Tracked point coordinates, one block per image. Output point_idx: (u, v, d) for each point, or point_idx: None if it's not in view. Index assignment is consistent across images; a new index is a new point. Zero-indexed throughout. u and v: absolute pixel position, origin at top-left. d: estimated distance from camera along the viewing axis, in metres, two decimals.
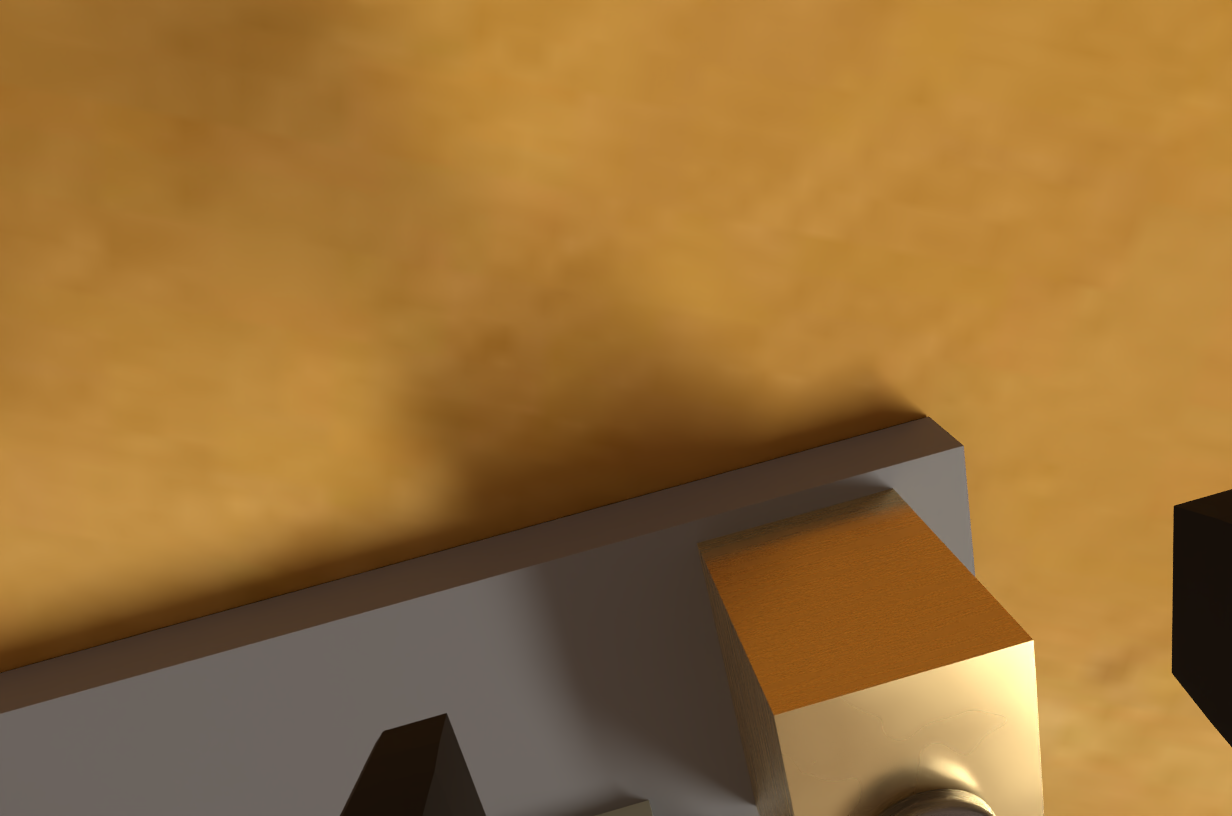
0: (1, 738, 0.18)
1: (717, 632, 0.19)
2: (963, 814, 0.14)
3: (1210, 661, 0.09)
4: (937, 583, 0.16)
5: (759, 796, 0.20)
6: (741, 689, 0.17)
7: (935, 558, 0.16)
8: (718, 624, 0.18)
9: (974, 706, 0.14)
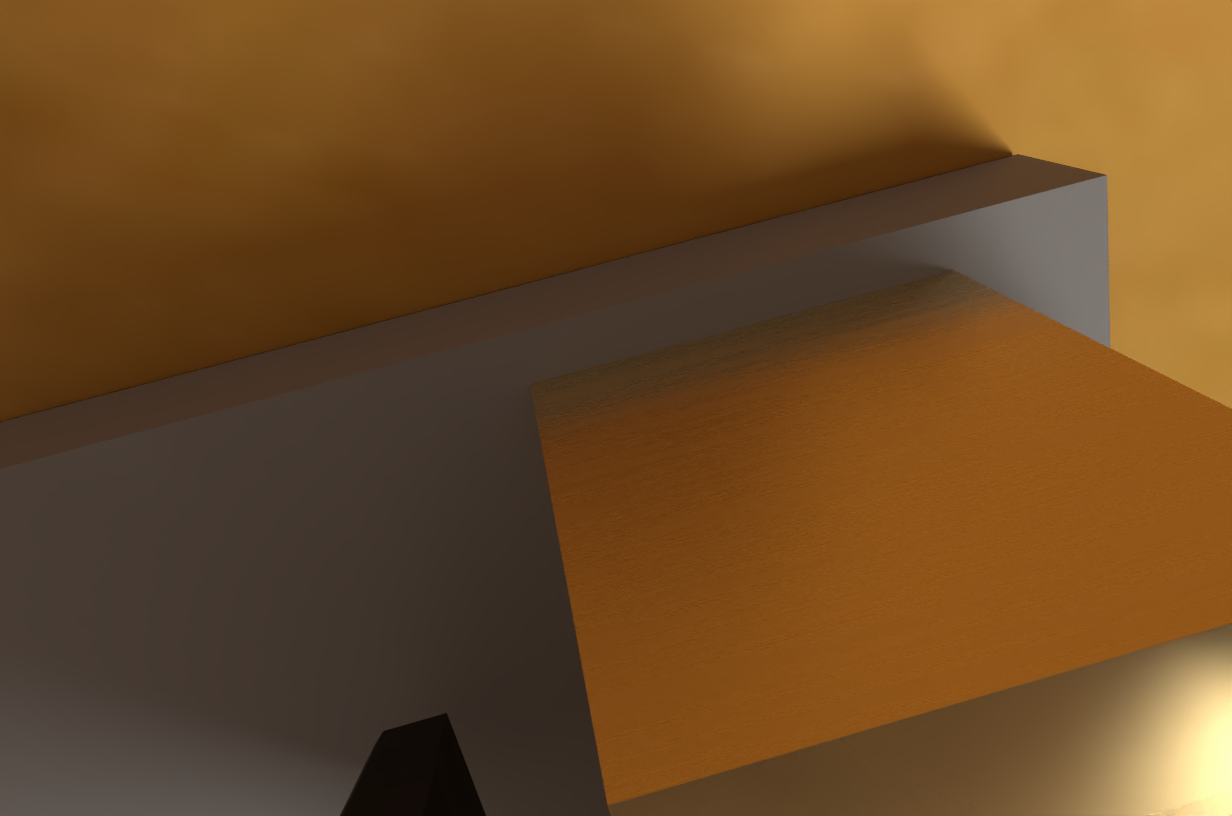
0: None
1: None
2: None
3: None
4: (1105, 417, 0.06)
5: None
6: None
7: (1084, 370, 0.06)
8: None
9: None
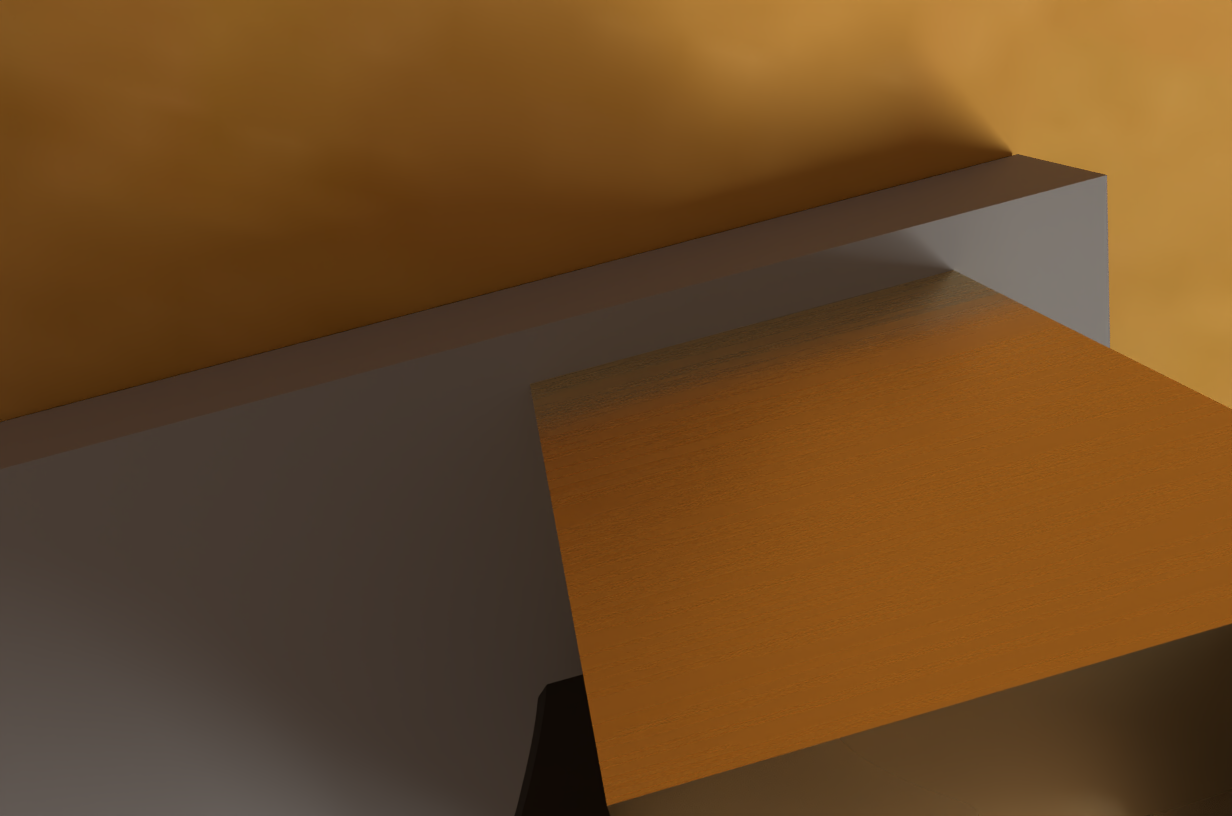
0: None
1: None
2: None
3: None
4: (1105, 418, 0.06)
5: None
6: None
7: (1084, 370, 0.06)
8: None
9: None
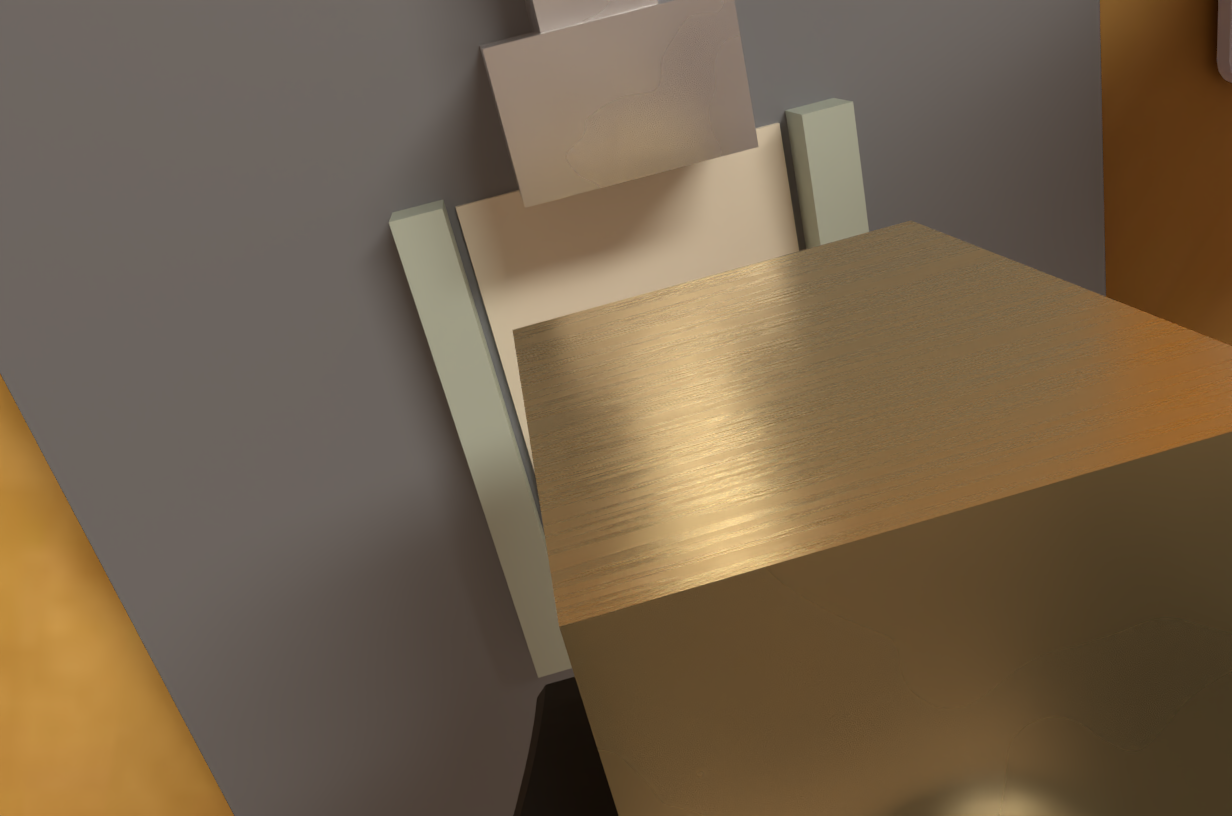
0: None
1: None
2: None
3: None
4: (1030, 324, 0.06)
5: None
6: None
7: (1017, 290, 0.07)
8: None
9: (1169, 608, 0.05)
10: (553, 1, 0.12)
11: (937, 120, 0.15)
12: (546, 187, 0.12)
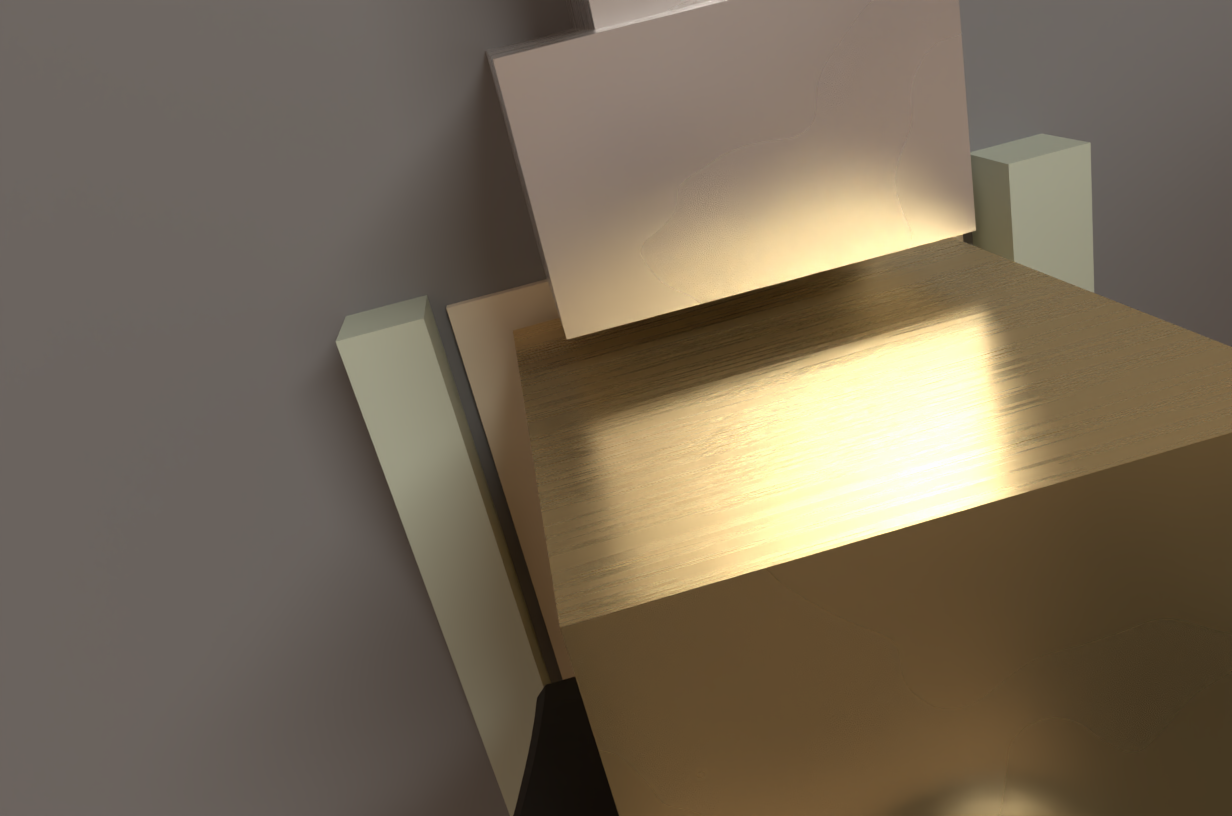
0: None
1: None
2: None
3: None
4: (1031, 325, 0.06)
5: None
6: None
7: (1016, 290, 0.07)
8: None
9: (1170, 607, 0.05)
10: None
11: (1195, 168, 0.10)
12: (605, 304, 0.07)
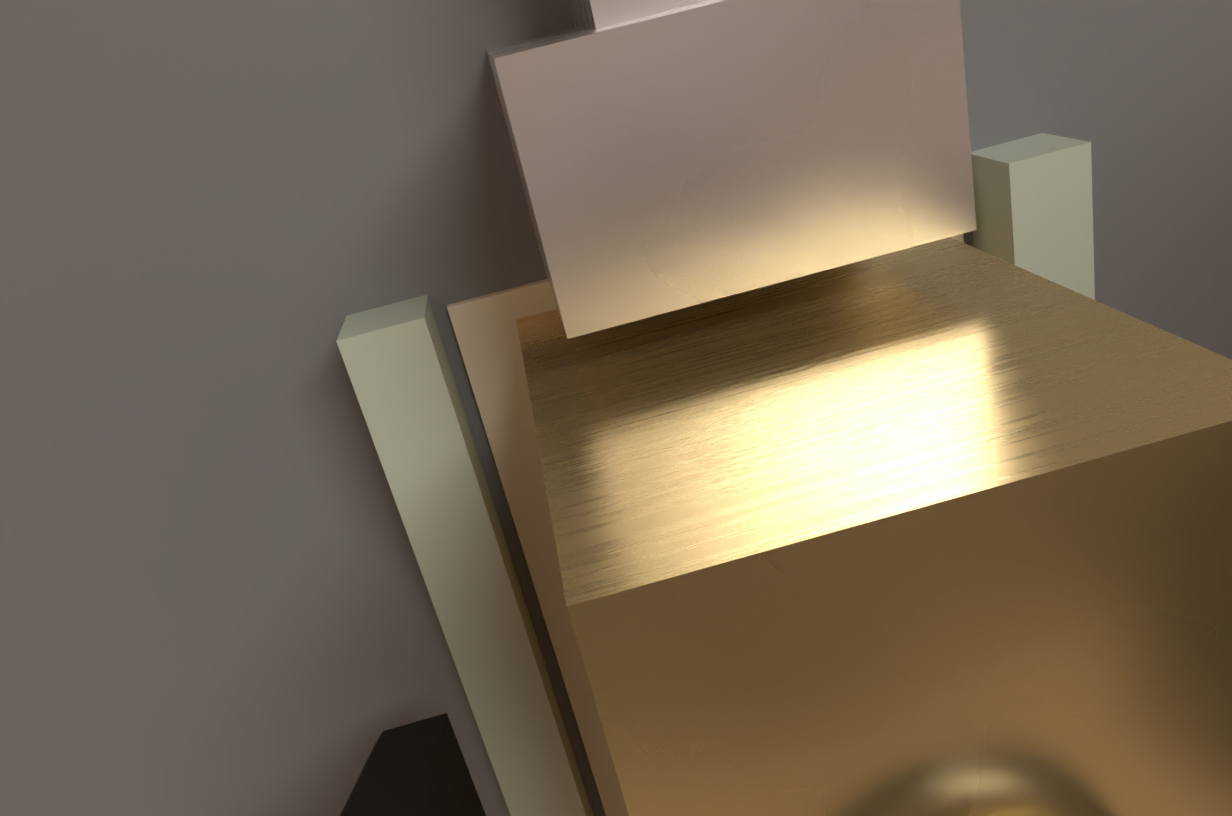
0: None
1: None
2: None
3: None
4: (1016, 323, 0.07)
5: None
6: None
7: (1004, 290, 0.07)
8: None
9: (1138, 593, 0.05)
10: None
11: (1195, 168, 0.10)
12: (605, 304, 0.07)
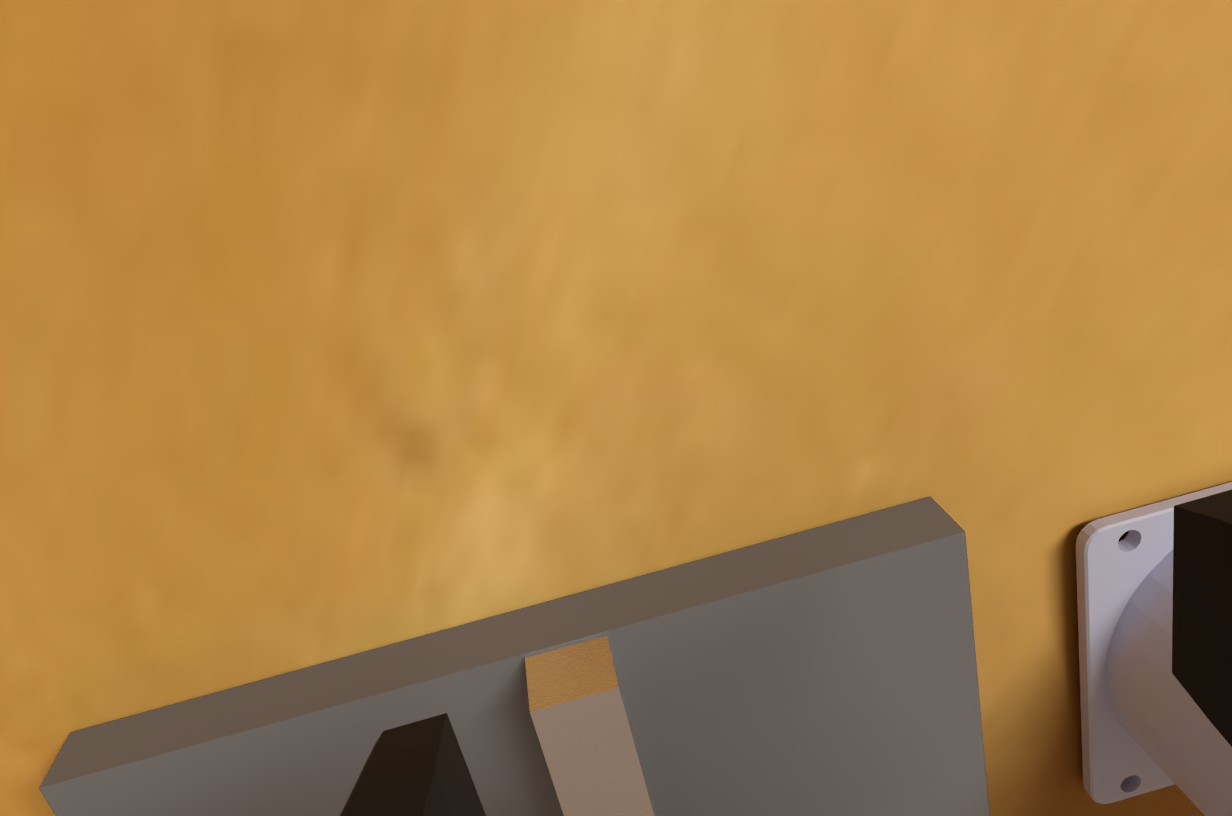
0: None
1: None
2: None
3: (1210, 661, 0.09)
4: None
5: None
6: None
7: None
8: None
9: None
10: None
11: None
12: None
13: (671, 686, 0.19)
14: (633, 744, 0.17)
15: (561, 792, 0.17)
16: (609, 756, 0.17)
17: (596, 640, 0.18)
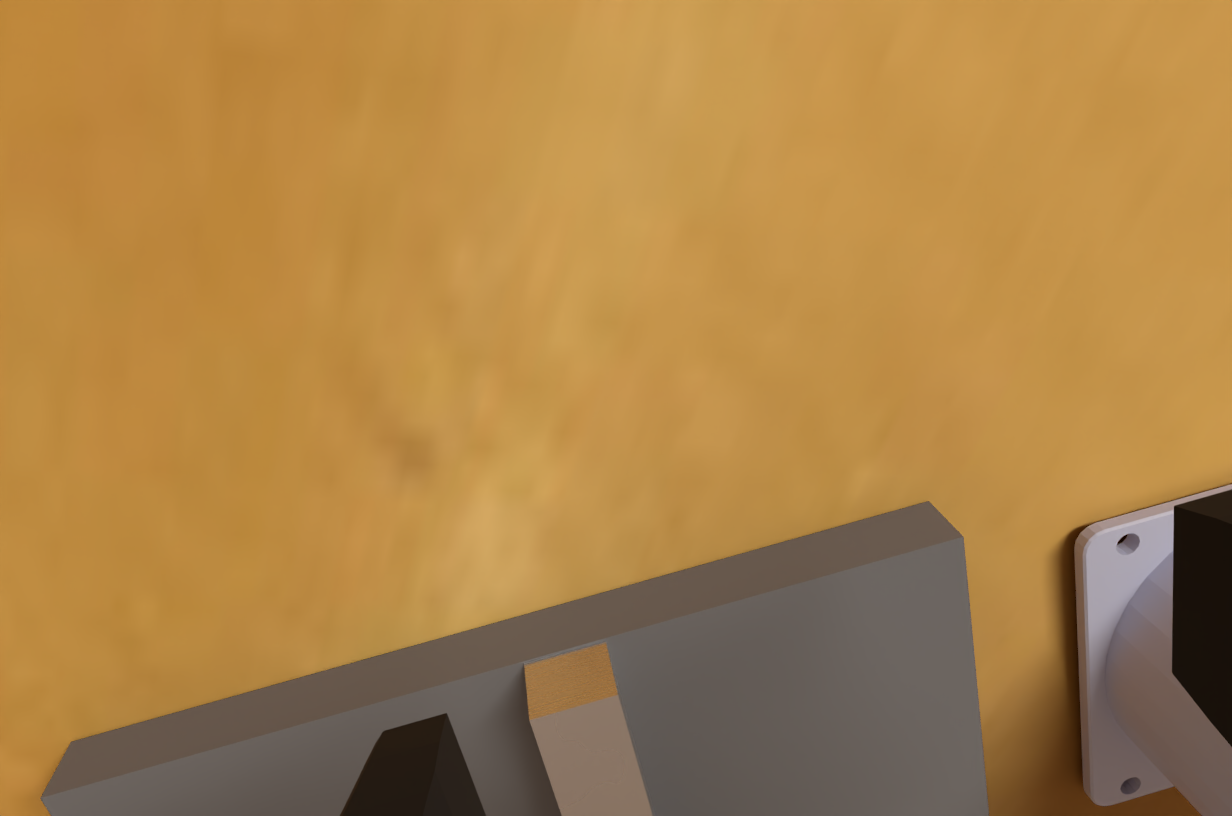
0: None
1: None
2: None
3: (1210, 662, 0.09)
4: None
5: None
6: None
7: None
8: None
9: None
10: None
11: None
12: None
13: (670, 692, 0.19)
14: (633, 751, 0.17)
15: (561, 799, 0.17)
16: (609, 763, 0.17)
17: (595, 647, 0.18)
